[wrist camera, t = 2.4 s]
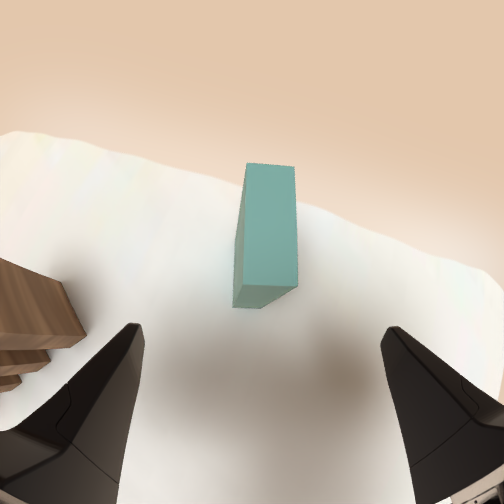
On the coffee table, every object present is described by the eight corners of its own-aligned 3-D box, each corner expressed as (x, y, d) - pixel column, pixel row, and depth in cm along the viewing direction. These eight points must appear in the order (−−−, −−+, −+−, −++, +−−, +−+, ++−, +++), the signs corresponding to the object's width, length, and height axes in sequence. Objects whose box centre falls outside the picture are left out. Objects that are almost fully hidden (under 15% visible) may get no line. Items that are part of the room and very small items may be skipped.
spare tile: (261, 242, 22) (294, 167, 12) (260, 308, 21) (297, 286, 11) (235, 241, 22) (246, 162, 12) (232, 307, 21) (242, 284, 10)
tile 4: (60, 282, 20) (-30, 243, 9) (86, 335, 19) (-8, 331, 9) (44, 294, 19) (-48, 264, 9) (70, 347, 19) (-26, 349, 8)
